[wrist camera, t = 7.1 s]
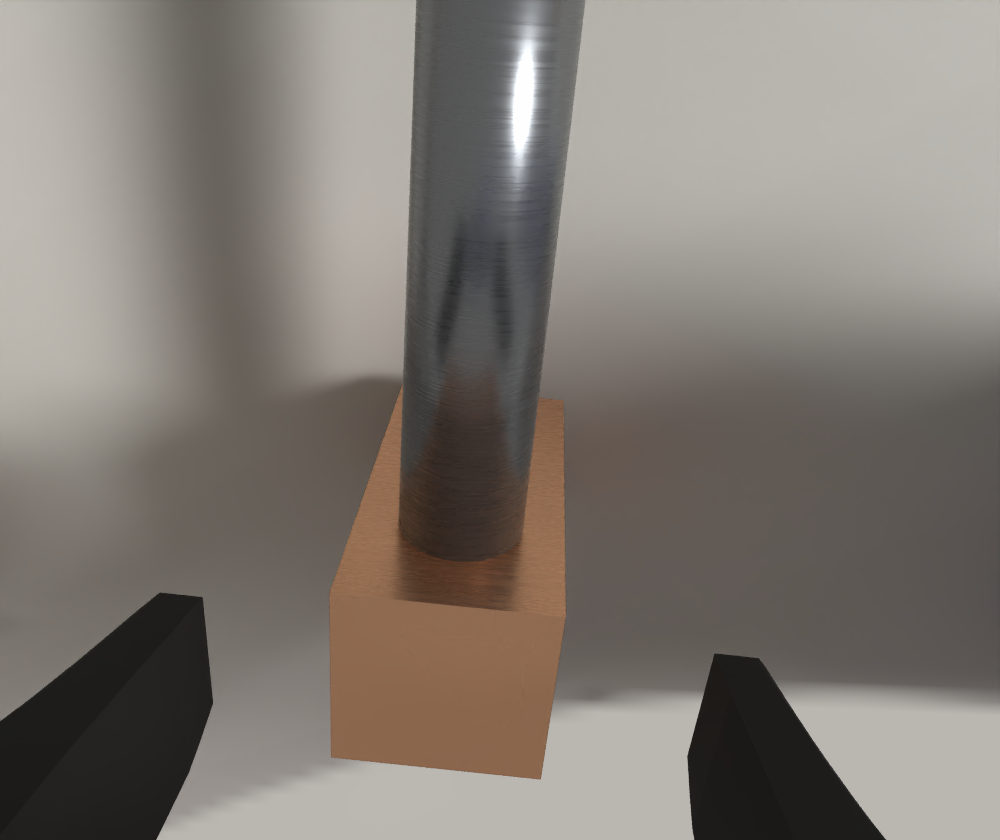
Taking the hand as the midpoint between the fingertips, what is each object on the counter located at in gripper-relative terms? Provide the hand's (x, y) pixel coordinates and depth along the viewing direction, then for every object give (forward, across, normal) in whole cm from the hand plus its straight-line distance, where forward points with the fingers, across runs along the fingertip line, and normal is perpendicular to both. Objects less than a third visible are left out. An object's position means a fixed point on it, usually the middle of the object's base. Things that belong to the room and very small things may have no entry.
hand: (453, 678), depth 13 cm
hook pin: (+5, 0, -5) cm, 8 cm away
